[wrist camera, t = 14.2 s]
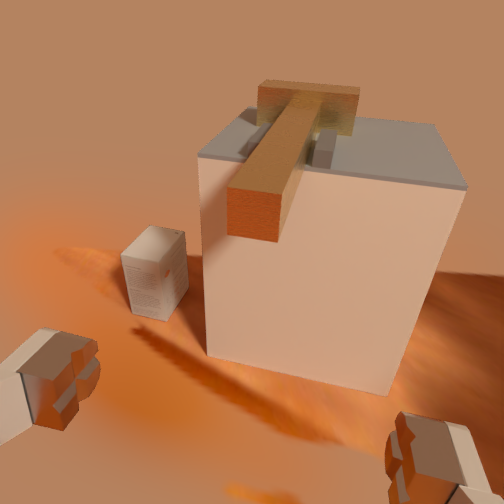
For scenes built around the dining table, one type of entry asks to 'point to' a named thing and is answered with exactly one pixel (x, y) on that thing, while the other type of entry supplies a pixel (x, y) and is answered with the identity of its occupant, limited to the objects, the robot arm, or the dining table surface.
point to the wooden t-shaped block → (284, 152)
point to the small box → (156, 272)
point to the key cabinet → (329, 252)
